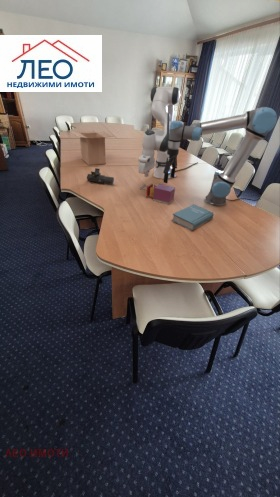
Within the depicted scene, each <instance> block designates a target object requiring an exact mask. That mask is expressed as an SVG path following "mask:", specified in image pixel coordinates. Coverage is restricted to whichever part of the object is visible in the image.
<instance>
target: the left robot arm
mask: <svg viewBox="0 0 280 497" xmlns="http://www.w3.org/2000/svg"><path fill="white" fill-rule="evenodd" d="M149 95H150V97H149V98H150V101H151V109H150V113H151V115H152V117H153V118H154V119H155V120H156V121H158V122H159V125H160V126H162V127H163V129H154V130H146V131H144V133H143V136H142V144H141V145H142V150H141V154H140V156H139V157H138V173H139V174H141V175H144V177H145V178H148V177H149V174H150V171H151V170H152V169H154V171H153V175H152V176H153V177H154V178H156V179H162V180H164V174H165V173H163V172H164V168H165V164H166V161H167V157H168V158H169V155H168V154H167V149H168V148H169V147H168V141H169V133H170V126H171V122H172V121H174V109H175V107H174V106H175V105H176V104H178V103H179V102H180V99H181V92H180V88H179V87H177V86H167V85H166V86H153V87H152V88H151V89H150V94H149ZM155 151H156V152H155ZM155 154H156V158H155ZM196 164H199V162H195V163H192V164H190V165H189V166H187V167H185V168H181V169H176V170H175V173H176V172H179V171H184V170H186V169H188V168H191V167H192V166H194V165H196ZM171 169H172V166H171V167H170V170H169V172H168V174H169V175H168V180H169V179H172V178H171V177H170V176H171ZM174 178H177V175H176V174H175V175H174Z"/></svg>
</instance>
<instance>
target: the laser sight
mask: <svg viewBox="0 0 280 497" xmlns="http://www.w3.org/2000/svg"><path fill="white" fill-rule="evenodd" d="M100 170H101V168H94V171H90V173H87V175H86V180H87V182H90V183H96V184H102V185H104V184H108V185H114V181H115V178H114V176H108V175H107V176H106V175H104V174H101V172H100Z"/></svg>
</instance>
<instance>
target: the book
mask: <svg viewBox="0 0 280 497" xmlns="http://www.w3.org/2000/svg"><path fill="white" fill-rule="evenodd" d="M214 215H215V213H214V212H213V211H211V210H209V209H206V208H204V207H201V206H199V205H197V204H193V203H192V204H191V205H189V206H187V207H185V208H183V209H180V210H178V211H176V212H173V213H172V219H171V222H173V223H175V224H178V225H179V226H181V227H182V228H183V227H184V228H185V229H187V230H190V231H194V230H195V229H196V230H197V228H200V226H202V225H205V224H206V223H208V222H209V221H211V220H213V219H214Z"/></svg>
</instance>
